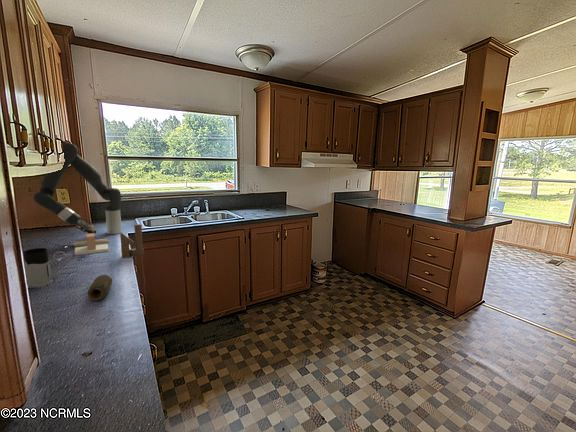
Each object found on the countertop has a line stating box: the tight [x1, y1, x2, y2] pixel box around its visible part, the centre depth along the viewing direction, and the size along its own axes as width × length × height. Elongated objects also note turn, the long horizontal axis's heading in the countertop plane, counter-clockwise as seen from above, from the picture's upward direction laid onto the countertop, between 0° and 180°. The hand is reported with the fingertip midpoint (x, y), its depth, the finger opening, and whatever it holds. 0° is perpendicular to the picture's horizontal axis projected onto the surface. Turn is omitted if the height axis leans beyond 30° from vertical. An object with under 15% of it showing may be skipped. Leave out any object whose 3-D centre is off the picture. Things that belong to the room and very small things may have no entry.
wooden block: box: [119, 223, 145, 259], centre depth 156 cm, size 4×11×18 cm, turn 129°
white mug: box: [22, 247, 67, 289], centre depth 118 cm, size 9×14×15 cm, turn 118°
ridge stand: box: [74, 233, 109, 256], centre depth 163 cm, size 11×16×10 cm
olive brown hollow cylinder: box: [87, 274, 113, 302], centre depth 111 cm, size 15×7×7 cm, turn 27°
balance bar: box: [73, 224, 110, 247], centre depth 176 cm, size 5×18×12 cm, turn 126°
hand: (94, 233), depth 177 cm, fingers closed on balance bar, 3 cm apart
